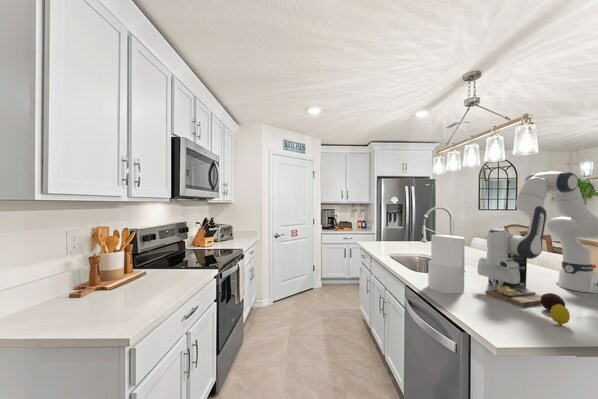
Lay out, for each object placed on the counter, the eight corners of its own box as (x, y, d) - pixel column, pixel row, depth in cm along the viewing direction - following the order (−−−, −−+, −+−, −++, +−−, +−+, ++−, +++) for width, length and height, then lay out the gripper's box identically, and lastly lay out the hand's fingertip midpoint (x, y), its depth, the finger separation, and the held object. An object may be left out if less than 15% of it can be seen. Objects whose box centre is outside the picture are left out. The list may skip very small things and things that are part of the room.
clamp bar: (528, 292, 142) (528, 290, 142) (535, 294, 140) (535, 292, 140) (503, 293, 138) (503, 291, 138) (510, 295, 135) (510, 293, 135)
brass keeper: (503, 291, 143) (503, 285, 143) (515, 295, 137) (515, 288, 137) (497, 292, 141) (497, 285, 141) (509, 295, 136) (509, 289, 136)
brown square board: (514, 291, 151) (514, 287, 151) (553, 303, 133) (553, 298, 133) (485, 294, 145) (485, 290, 145) (522, 307, 128) (522, 302, 128)
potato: (547, 314, 120) (547, 296, 120) (535, 306, 128) (535, 289, 129) (570, 316, 117) (570, 298, 117) (557, 308, 126) (557, 291, 126)
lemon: (546, 322, 112) (546, 301, 112) (559, 321, 112) (559, 301, 112) (560, 328, 106) (560, 306, 106) (574, 328, 107) (574, 306, 107)
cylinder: (440, 282, 166) (440, 234, 166) (470, 290, 151) (471, 237, 152) (421, 286, 157) (421, 235, 157) (452, 295, 142) (452, 239, 143)
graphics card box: (519, 284, 163) (519, 236, 163) (528, 288, 156) (528, 238, 156) (487, 283, 165) (488, 236, 165) (494, 287, 158) (495, 237, 158)
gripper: (474, 257, 153) (474, 282, 153) (512, 265, 133) (512, 295, 133) (483, 256, 155) (483, 282, 155) (522, 264, 135) (522, 293, 135)
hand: (497, 288), depth 144 cm, fingers closed
